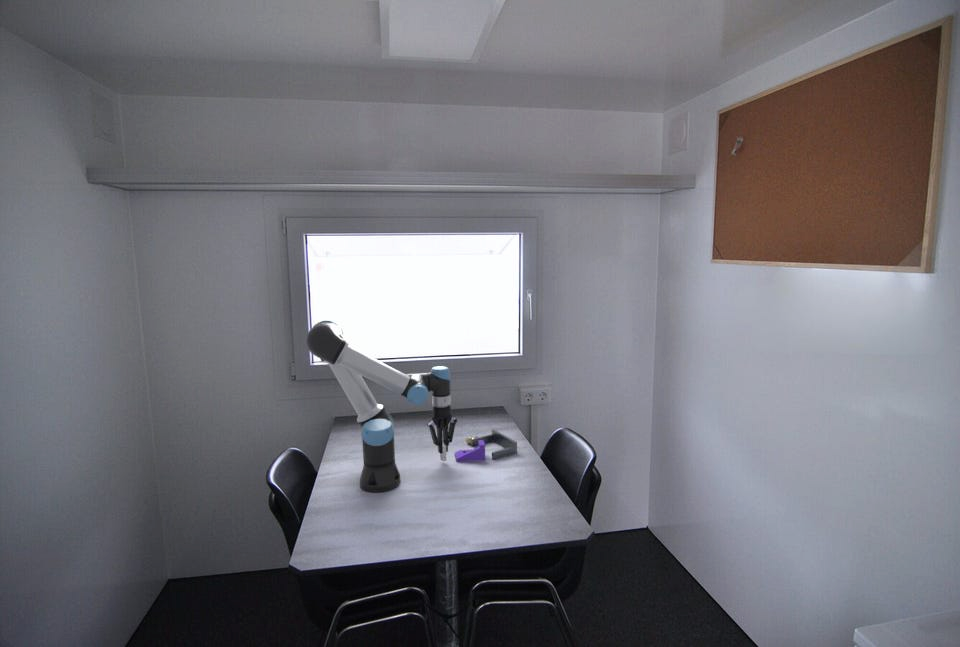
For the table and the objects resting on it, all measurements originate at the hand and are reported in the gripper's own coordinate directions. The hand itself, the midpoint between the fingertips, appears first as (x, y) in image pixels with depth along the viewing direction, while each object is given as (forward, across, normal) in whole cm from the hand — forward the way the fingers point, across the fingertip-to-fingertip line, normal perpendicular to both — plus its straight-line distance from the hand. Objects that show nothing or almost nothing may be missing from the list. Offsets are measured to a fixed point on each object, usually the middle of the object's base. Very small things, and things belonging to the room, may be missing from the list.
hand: (443, 459), depth 211 cm
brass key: (+1, +22, +12) cm, 25 cm away
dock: (+1, +24, 0) cm, 24 cm away
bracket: (+2, +12, -1) cm, 12 cm away
